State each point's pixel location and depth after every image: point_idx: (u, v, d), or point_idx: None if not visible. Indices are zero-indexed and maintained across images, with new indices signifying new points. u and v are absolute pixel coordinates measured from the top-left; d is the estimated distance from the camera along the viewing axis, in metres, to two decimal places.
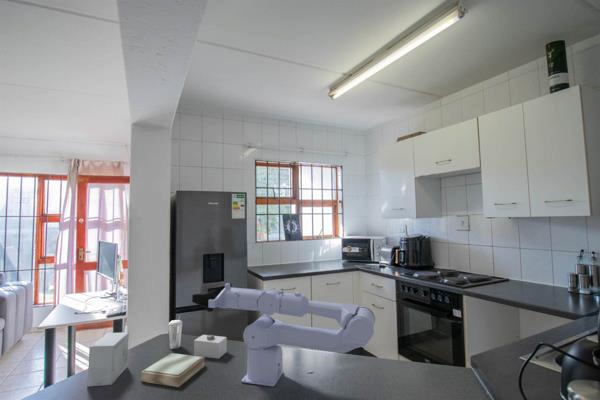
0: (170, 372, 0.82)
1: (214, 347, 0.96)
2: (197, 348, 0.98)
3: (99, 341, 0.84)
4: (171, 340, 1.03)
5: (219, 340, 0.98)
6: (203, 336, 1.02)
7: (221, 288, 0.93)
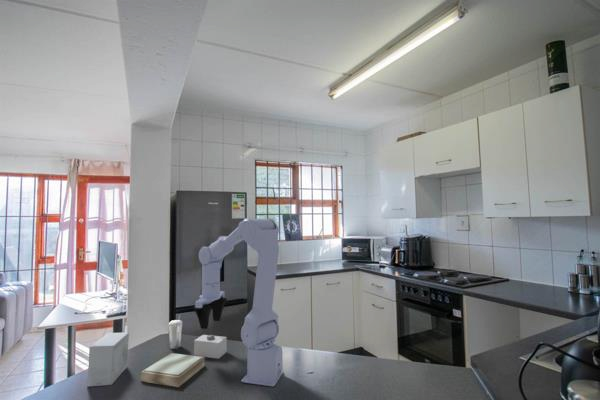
0: (170, 372, 0.82)
1: (214, 347, 0.96)
2: (197, 348, 0.98)
3: (99, 341, 0.84)
4: (171, 340, 1.03)
5: (219, 340, 0.98)
6: (203, 336, 1.02)
7: (213, 306, 1.04)
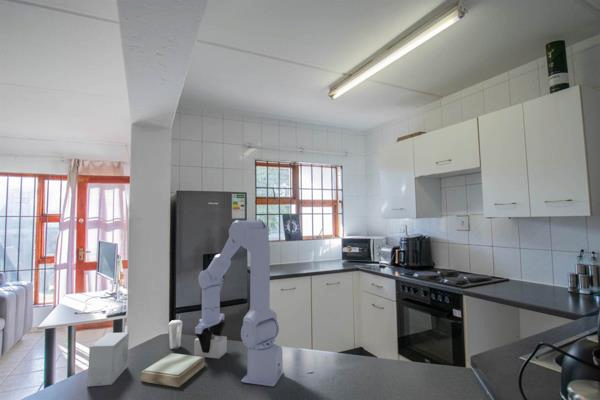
0: (170, 372, 0.82)
1: (214, 346, 0.96)
2: (197, 347, 0.98)
3: (99, 341, 0.84)
4: (171, 340, 1.03)
5: (219, 339, 0.98)
6: None
7: (211, 330, 1.03)
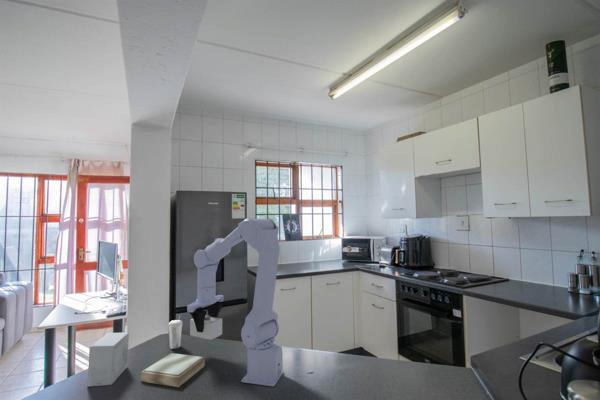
0: (170, 372, 0.82)
1: (207, 327, 0.95)
2: (193, 327, 0.97)
3: (99, 341, 0.84)
4: (171, 340, 1.03)
5: (213, 321, 0.96)
6: None
7: (208, 311, 1.02)
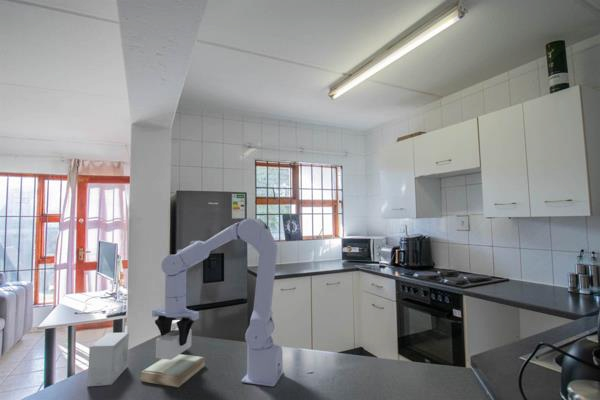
0: (170, 372, 0.82)
1: None
2: None
3: (99, 341, 0.84)
4: None
5: (163, 338, 0.84)
6: None
7: None
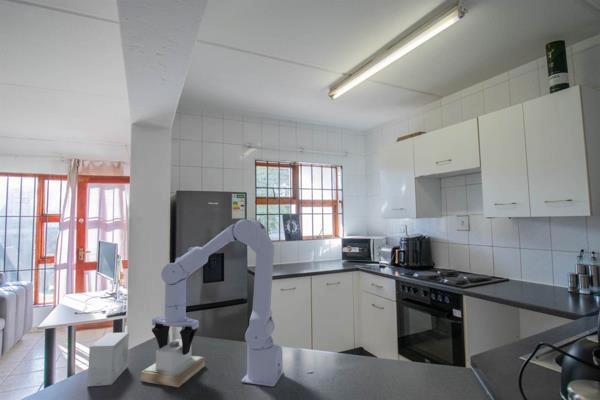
0: (170, 372, 0.82)
1: None
2: None
3: (99, 341, 0.84)
4: (171, 340, 1.03)
5: (163, 350, 0.84)
6: None
7: None
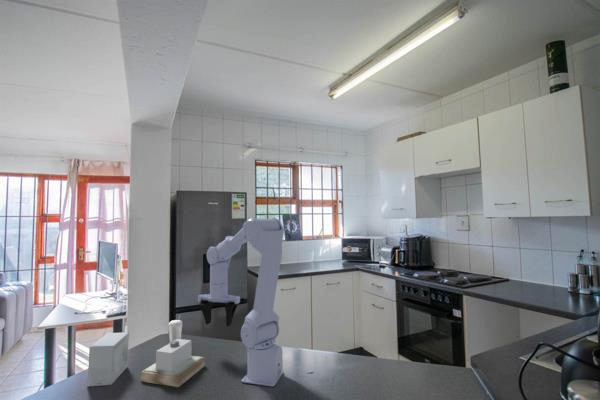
0: (170, 372, 0.82)
1: None
2: None
3: (99, 341, 0.84)
4: (171, 340, 1.03)
5: (163, 350, 0.84)
6: (185, 341, 0.90)
7: None
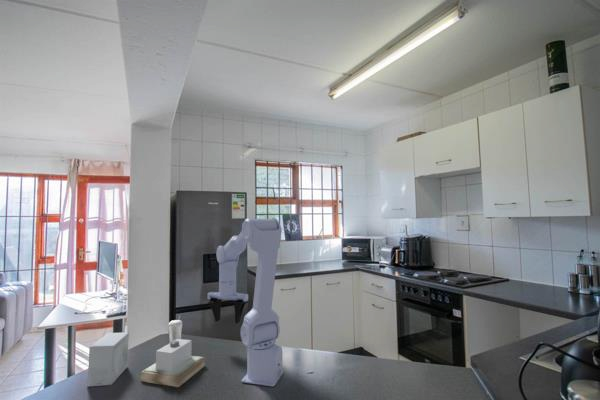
0: (170, 372, 0.82)
1: None
2: None
3: (99, 341, 0.84)
4: (171, 340, 1.03)
5: (163, 350, 0.84)
6: (185, 341, 0.90)
7: None
